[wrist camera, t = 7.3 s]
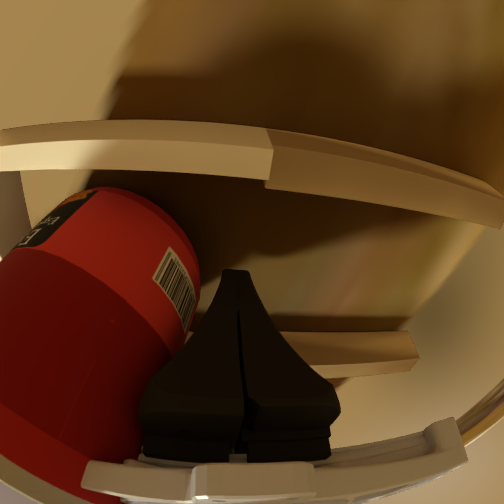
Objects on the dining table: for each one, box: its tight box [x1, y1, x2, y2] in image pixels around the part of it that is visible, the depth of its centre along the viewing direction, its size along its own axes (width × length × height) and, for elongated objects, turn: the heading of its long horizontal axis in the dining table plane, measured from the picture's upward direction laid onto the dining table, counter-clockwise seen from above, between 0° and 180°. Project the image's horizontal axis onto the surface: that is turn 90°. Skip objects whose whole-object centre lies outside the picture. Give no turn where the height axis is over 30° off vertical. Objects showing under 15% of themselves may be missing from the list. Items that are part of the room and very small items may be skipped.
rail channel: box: [263, 128, 504, 378], centre depth 15 cm, size 13×12×2 cm
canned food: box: [0, 187, 201, 504], centre depth 9 cm, size 8×8×11 cm
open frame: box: [0, 120, 274, 343], centre depth 13 cm, size 13×12×3 cm
